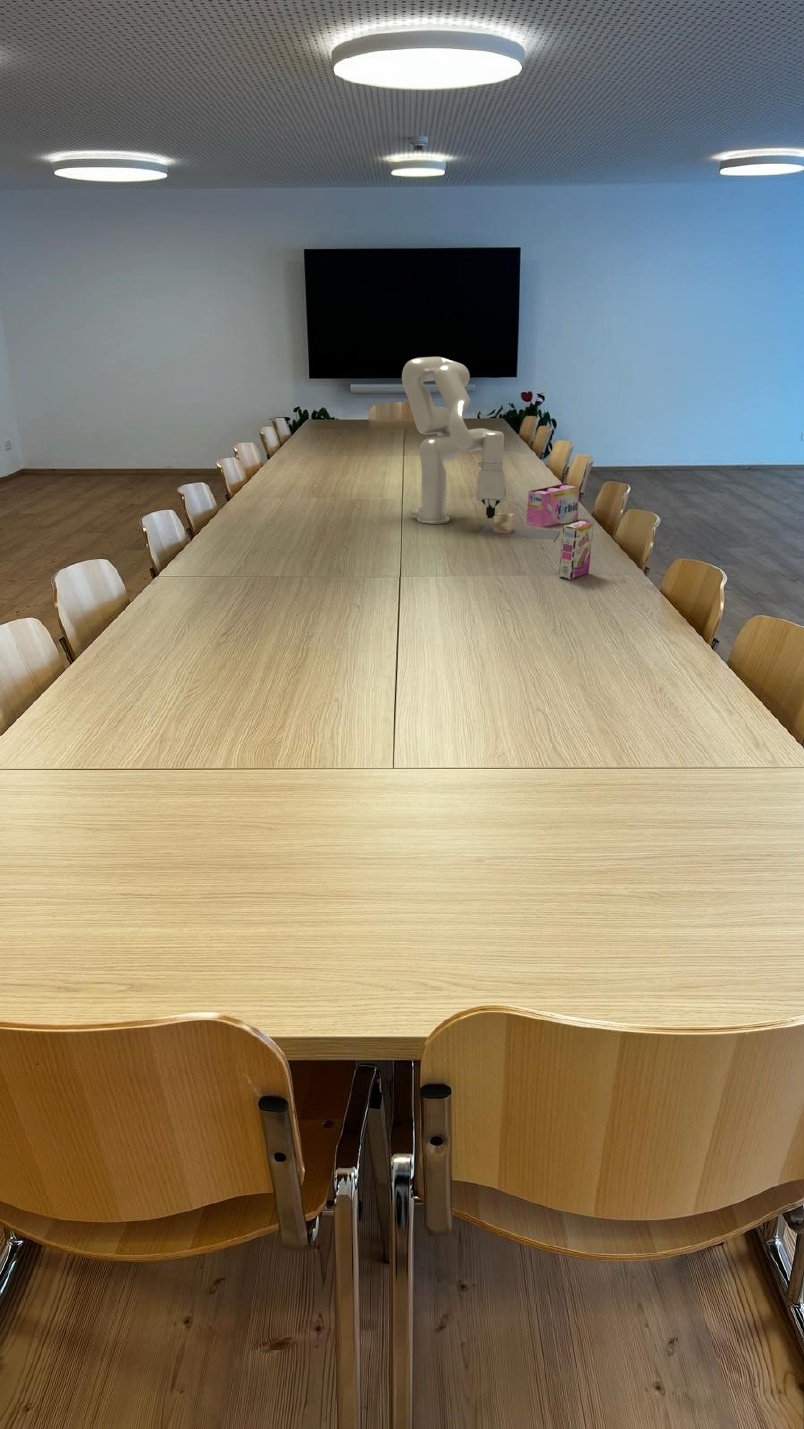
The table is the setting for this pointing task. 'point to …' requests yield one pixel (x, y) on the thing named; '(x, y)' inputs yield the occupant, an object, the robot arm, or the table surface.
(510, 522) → the maple cube
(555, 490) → the gum box
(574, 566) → the candy bar box
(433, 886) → the table surface
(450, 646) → the table surface
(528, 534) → the rubber mat
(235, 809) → the table surface
